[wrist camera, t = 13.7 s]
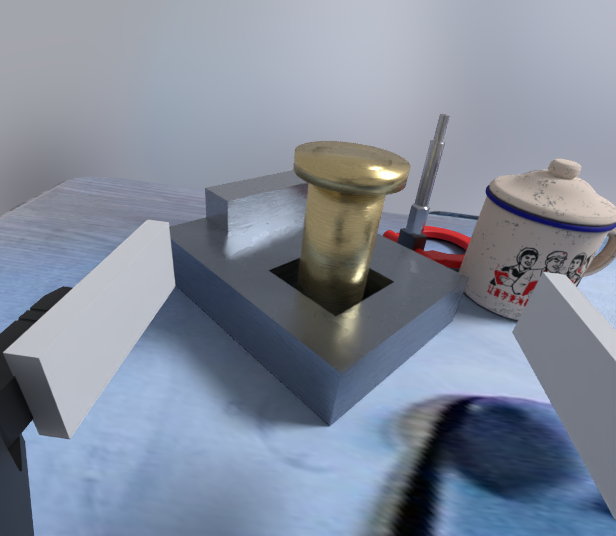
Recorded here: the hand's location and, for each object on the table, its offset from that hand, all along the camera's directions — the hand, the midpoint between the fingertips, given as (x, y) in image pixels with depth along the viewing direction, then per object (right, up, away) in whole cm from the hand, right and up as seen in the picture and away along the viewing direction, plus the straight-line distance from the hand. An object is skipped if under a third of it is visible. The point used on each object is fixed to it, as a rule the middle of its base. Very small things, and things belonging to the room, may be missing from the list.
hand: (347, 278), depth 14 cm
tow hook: (+11, +2, +25) cm, 27 cm away
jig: (-2, -2, +16) cm, 16 cm away
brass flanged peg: (0, -4, +14) cm, 14 cm away
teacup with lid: (+17, -2, +20) cm, 27 cm away
